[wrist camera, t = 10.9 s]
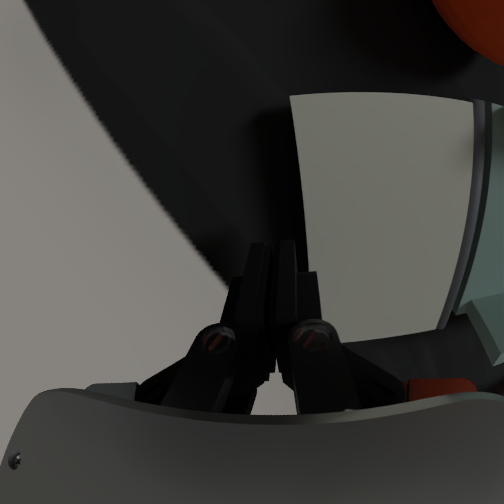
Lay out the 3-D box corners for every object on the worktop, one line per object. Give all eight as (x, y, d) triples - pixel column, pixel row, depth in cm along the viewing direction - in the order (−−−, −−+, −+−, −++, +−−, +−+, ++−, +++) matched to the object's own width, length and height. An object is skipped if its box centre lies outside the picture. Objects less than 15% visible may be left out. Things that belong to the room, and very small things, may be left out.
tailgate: (488, 101, 7) (288, 90, 9) (447, 328, 14) (312, 347, 15) (476, 99, 8) (288, 91, 9) (442, 318, 14) (311, 334, 16)
